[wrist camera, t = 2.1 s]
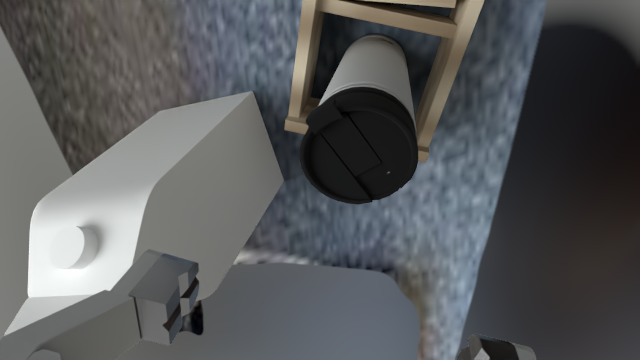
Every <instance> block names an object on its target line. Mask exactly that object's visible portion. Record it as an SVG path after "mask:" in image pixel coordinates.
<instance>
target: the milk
mask: <svg viewBox="0 0 640 360" xmlns="http://www.w3.org/2000/svg"><path fill="white" fill-rule="evenodd" d="M283 182H284V179H283V176H282V174H281V171H280V168H279V165H278V162H277V159H276V156H275V153H274V151H273V148H272V145H271V142H270V139H269V136H268V133H267V130H266V128H265V125H264V122H263V119H262V116H261V113H260V110H259V107H258V105H257V102H256V99H255V96H254V93H253V91H250V92H246V93H241V94H236V95H232V96H227V97H222V98H218V99H213V100H208V101H204V102H199V103H194V104H190V105H185V106H181V107H176V108H171V109H167V110H162V111H159V112H158V113H157V114H155V115H154V116H153V117H151V118H150V119H149V120H147V121H146V122H144V123H143V124H142V125H140V126H139V127H138V128H136V129H135V130H134V131H132V132H131V133H130V134H128V135H127V136H126V137H124V138H123V139H122V140H120V141H119V142H118V143H116V144H115V145H113V146H112V147H111V148H109V149H108V150H107V151H105V152H104V153H103V154H101V155H100V156H99V157H97V158H96V159H95V160H93V161H92V162H91V163H89V164H88V165H86V166H85V167H84V168H82V169H81V170H80V171H78V172H77V173H76V174H74V175H73V176H72V177H71V178H69V179H68V180H66V181H65V182H64V183H62V184H61V185H59V186H58V187H57V188H55V189H54V190H53V191H51V192H50V193H49V194H47V195H46V196H45V197H44V198H43V199H42V200H41V201H40V202H38V204H37V206H36V208H35V209H34V211H33V215H32V219H31V225H30V240H29V241H30V242H29V270H28V296H29V298H28V299H27V300H26V301H25V303H24V304H23V306H22V307H21V309H20V311H19V312H18V314H17V315H16V317H15V318H14V320H13V322H12V323H11V325H10V326H9V328H8V330H7V331H6V333H5V335H7V334H10V333H12V332H14V331H16V330H18V329H20V328H23V327H25V326H27V325H29V324H31V323H33V322H36V321H38V320H40V319H42V318H44V317H46V316H49V315H51V314H53V313H55V312H57V311H60V310H62V309H64V308H66V307H68V306H70V305H73V304H75V303H77V302H79V301H81V300H83V299H86V298H88V297H90V296H92V295H94V294H96V293H99V292H101V291H103V290H108V291H110V290H111V289H112V288H113V286H114V285H115V284H116V283H117V282H118V281H119V280H120V278H121V277H122V276H123V275H124V274H125V273H126V272H127V270H128V269H129V268H130V267H131V266H132V265H133V264H134V262H135V261H136V260H137V259H138V258H139V257H140V255H141V254H142V253H143V252H145V251H146V250H148V249H151V250H154V251H158V252H162V253H166V254H169V255H172V256H176V257H179V258H183V259H186V260H190V261H193V262H197V263H198V264H199V272H198V273H197V275H196V278H197V279H198V280H199V291H198V296H197V298H196V300H201V299H204V298H206V297H208V296H210V295H211V294H212V293H213V292H214V291H215V290H216V289H217V288H218V286H219V285H220V283H221V282H222V280H223V278H224V277H225V275H226V273H227V271H228V270H229V269H230V267H231V265H232V264H233V262H234V261H235V259H236V258H237V256H238V254H239V253H240V251H241V249H242V248H243V246H244V245H245V243H246V241H247V240H248V238H249V237H250V235H251V233H252V232H253V230H254V229H255V227H256V225H257V224H258V222H259V221H260V219H261V217H262V216H263V214H264V213H265V211H266V209H267V208H268V206H269V205H270V203H271V201H272V200H273V198H274V197H275V195H276V193H277V192H278V190H279V189H280V187H281V185H282V184H283Z"/></svg>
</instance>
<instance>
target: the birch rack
mask: <svg viewBox="0 0 640 360" xmlns="http://www.w3.org/2000/svg"><path fill="white" fill-rule="evenodd" d="M483 3H484V0H456V4H455V8H452V9H451V12H450V15H449V17H446V16H442V15H437V14H432V13H427V12H422V11H418V10H413V9H408V8H403V7H398V6H394V5H389V4H384V3H379V2H374V1H365V0H303V3H302V11H301V19H300V27H299V35H298V42H297V50H296V58H295V66H294V74H293V82H292V89H291V97H290V105H289V113H288V117H287V118H286V120H285V127H284V130H287V131H291V132H295V133H300V134H304V135H305V133H306V131H307V129H308V125H307V124H306V119H307V116H308V115H309V114H310V112H311V111H312V110H314V109H315V108H317V107H318V105H319V103H320V101H321V99H317V98H313V97H311V95H312V89H313V83H314V77H315V70H316V64H317V58H318V52H319V46H320V39H321V33H322V27H323V21H324V15H325V12H328V13H332V14H337V15H342V16H346V17H351V18H356V19H361V20H365V21H370V22H375V23H379V24H384V25H389V26H394V27H398V28H403V29H408V30H412V31H417V32H422V33H427V34H431V35H436V36H441V37H442V39H441V42H440V45H439V47H438V50H437V53H436V56H435V59H434V62H433V65H432V68H431V71H430V74H429V77H428V80H427V83H426V86H425V89H424V92H423V95H422V98H421V101H420V104H419V107H418V110H417V112H416V115H415V123H416V130H417V144H418V161H421V162H425V163H426V160H427V158H428V155H429V145H430V142H431V140H432V137H433V134H434V132H435V129H436V127H437V124H438V121H439V119H440V116H441V113H442V111H443V108H444V106H445V103H446V100H447V98H448V95H449V92H450V90H451V87H452V84H453V82H454V79H455V77H456V74H457V71H458V69H459V66H460V63H461V61H462V58H463V56H464V53H465V50H466V48H467V45H468V42H469V40H470V37H471V34H472V32H473V29H474V27H475V24H476V21H477V19H478V16H479V13H480V11H481V8H482V6H483Z"/></svg>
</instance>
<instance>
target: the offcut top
mask: <svg viewBox="0 0 640 360" xmlns="http://www.w3.org/2000/svg"><path fill="white" fill-rule="evenodd" d="M365 1H377V2H389V3H401V4H413V5H425V6H437V7H449V8H455V4H456V0H365Z"/></svg>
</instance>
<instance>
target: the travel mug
mask: <svg viewBox="0 0 640 360" xmlns="http://www.w3.org/2000/svg"><path fill="white" fill-rule="evenodd" d="M306 124H307V125H308V129H307V131H306V133H305V135H304V137H303V139H302V143H301V147H300V161H301V166H302V169H303V171H304V173H305V175H306V177H307V179H308V180H309V181H310V183H311V184H312V185H313V186H314V187H315V188H316V189H317V190H319V191H320V192H321V193H323V194H324V195H326V196H328V197H330V198H332V199H335V200H337V201H341V202H345V203H350V204H363V203H369V202H372V200H379V199H382V198H384V197H387V196H389V195H391V194H393V193H394V192H396V191H398V189H399V188H402V187H403V186H404V185H405V184H406V183H407V182H408V181H409V180H410V179H411V178H412V176H413V174H414V172H415V170H416V167H417V163H418V144H417V130H416V123H415V116H414V110H413V103H412V96H411V89H410V82H409V76H408V69H407V62H406V57H405V54H404V52H403V49H402V48H401V46H400V45H399V44H398V43H397V42H396V41H395V40H394V39H392V38H390V37H389V36H386V35H383V34H368V35H365V36H362V37H360V38H358V39H356V40H355V41H354V42H353V43H352V44H351V45H350V46H349V47H348V49H347V50H346V52H345V54H344V56H343V58H342V60H341V62H340V64H339V66H338V68H337V70H336V72H335V74H334V76H333V78H332V80H331V82H330V84H329V86H328V87H327V89H326V91H325V93H324V95H323V97H322V99H321V101H320V103H319V105H318V107H317V108H315V109H314V110H312V111H311V112H310V114H309V115H308V116H307V119H306Z"/></svg>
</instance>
